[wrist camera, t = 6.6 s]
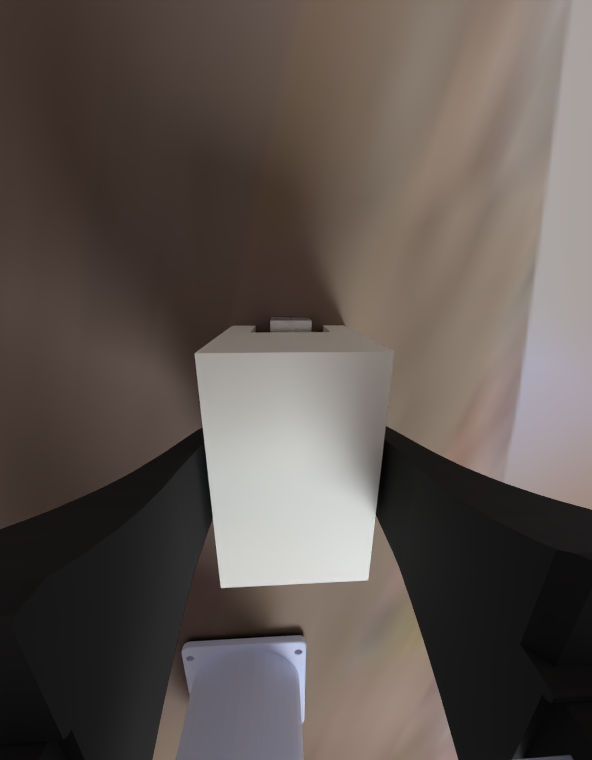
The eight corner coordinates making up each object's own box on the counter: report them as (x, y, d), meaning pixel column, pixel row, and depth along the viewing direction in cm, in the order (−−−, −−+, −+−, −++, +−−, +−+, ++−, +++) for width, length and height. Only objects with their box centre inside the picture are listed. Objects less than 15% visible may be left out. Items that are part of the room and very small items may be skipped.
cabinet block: (336, 474, 15) (367, 579, 9) (242, 478, 15) (220, 588, 9) (344, 325, 12) (394, 351, 7) (232, 325, 12) (194, 353, 7)
